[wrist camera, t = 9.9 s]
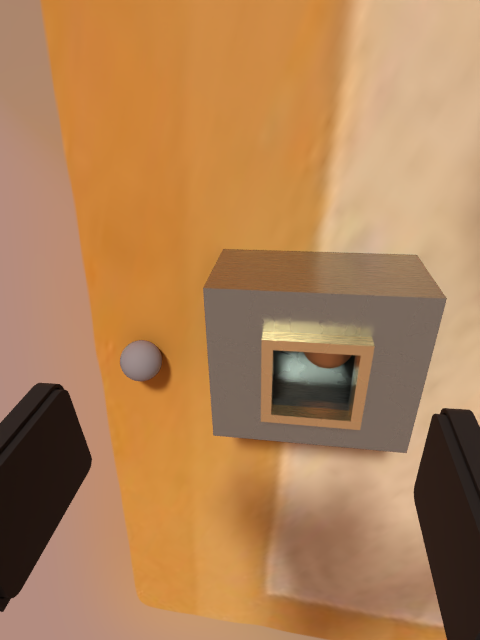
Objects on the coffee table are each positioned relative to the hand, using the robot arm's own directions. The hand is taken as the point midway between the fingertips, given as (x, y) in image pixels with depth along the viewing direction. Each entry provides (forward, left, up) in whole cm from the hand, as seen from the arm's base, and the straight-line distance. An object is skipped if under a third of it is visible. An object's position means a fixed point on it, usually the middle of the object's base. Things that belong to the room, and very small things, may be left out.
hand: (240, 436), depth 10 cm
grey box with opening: (-3, +11, -25) cm, 28 cm away
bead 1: (+13, +15, -21) cm, 29 cm away
